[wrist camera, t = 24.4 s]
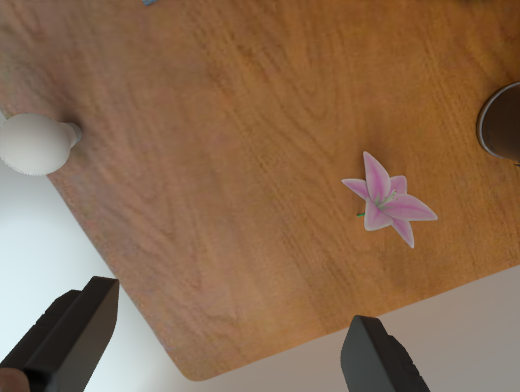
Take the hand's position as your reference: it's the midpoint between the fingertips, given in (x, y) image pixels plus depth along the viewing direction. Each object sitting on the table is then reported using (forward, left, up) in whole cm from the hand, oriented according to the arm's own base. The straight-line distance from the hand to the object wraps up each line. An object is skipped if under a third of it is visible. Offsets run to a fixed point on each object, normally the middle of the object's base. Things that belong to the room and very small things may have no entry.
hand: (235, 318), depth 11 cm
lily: (-13, +13, -32) cm, 37 cm away
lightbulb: (+18, -10, -32) cm, 38 cm away
